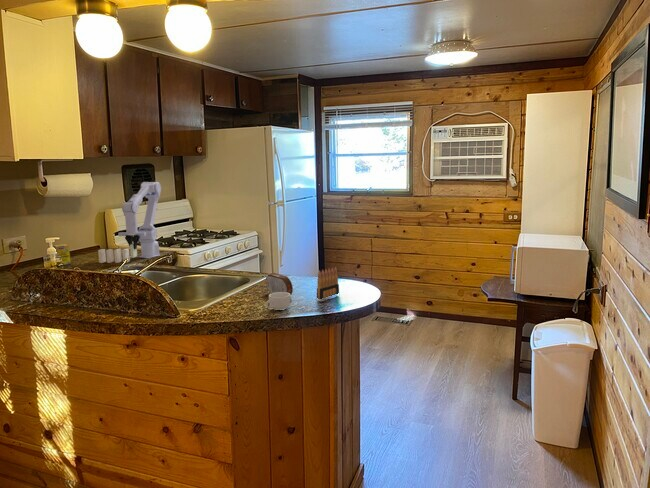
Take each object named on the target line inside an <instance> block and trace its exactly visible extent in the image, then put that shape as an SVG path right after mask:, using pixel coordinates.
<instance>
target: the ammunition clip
mask: <svg viewBox="0 0 650 488" xmlns="http://www.w3.org/2000/svg"><path fill="white" fill-rule="evenodd" d="M337 268H338V267H336V265H335V267H331V269H330V267H328V268H325V270H324V269H321V270H318V273H317V287H316V299H317V298H318V299H322V298H325V297H328V296H332V295H335V294H338V293H339V294H340V286H339V277H338V269H337Z"/></svg>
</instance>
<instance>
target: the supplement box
mask: <svg viewBox="0 0 650 488" xmlns="http://www.w3.org/2000/svg"><path fill="white" fill-rule="evenodd" d="M53 247H54V248H55V249H56V252H57V254H58V255H60V256H61V259H62V264H63V266H62V267H65V266H66V267H67V266H71V265H72V264H71V255H70V254H71V253H70V245H68V244H64V243H63V244H56V245H53V246H52V248H53Z"/></svg>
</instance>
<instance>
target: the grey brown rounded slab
mask: <svg viewBox="0 0 650 488" xmlns="http://www.w3.org/2000/svg"><path fill="white" fill-rule="evenodd" d="M265 286H266V289H267V291H268V292H269V291H271V292H275V293H276V292H287V293H290V295H291V296H292V294H293V292H294V291H293V290H294V289H293V284H292V281H291V280H290V278H289V277H288V276H286V275H284V274H280V273H276V272H272V273H270V274H267V276H266V277H265Z"/></svg>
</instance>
